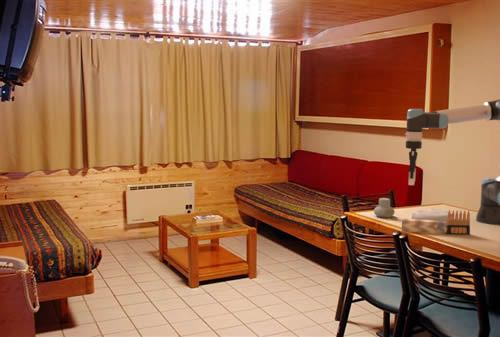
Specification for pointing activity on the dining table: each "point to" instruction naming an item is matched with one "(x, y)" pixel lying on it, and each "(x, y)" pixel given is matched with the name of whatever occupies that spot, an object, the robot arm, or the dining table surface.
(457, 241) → the dining table surface
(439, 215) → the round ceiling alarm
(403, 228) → the mottled beige block
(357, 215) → the dining table surface
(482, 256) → the dining table surface
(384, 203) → the air freshener
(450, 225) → the ammunition clip
